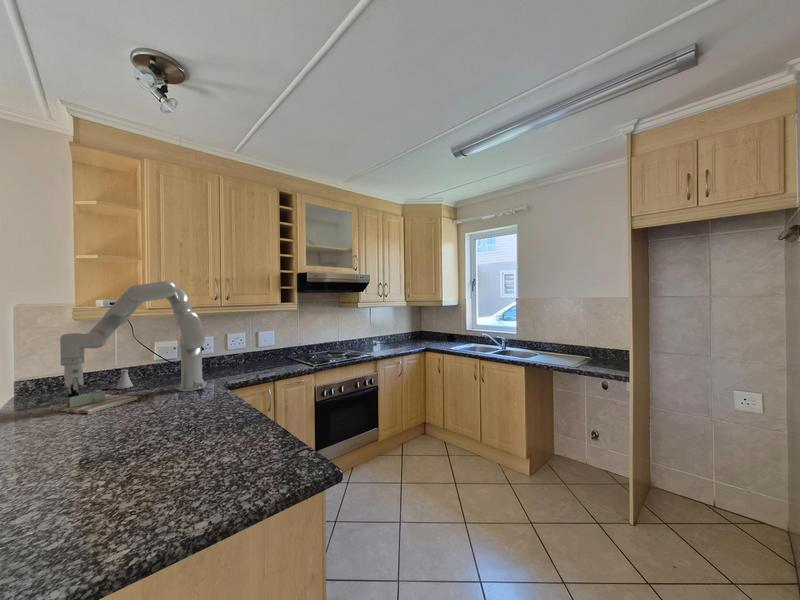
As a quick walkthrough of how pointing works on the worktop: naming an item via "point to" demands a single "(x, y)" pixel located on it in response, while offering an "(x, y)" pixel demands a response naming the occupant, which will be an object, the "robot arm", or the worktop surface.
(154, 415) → the worktop surface
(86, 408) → the lock base
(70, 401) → the lock lever
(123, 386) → the flask
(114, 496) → the worktop surface
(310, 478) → the worktop surface
